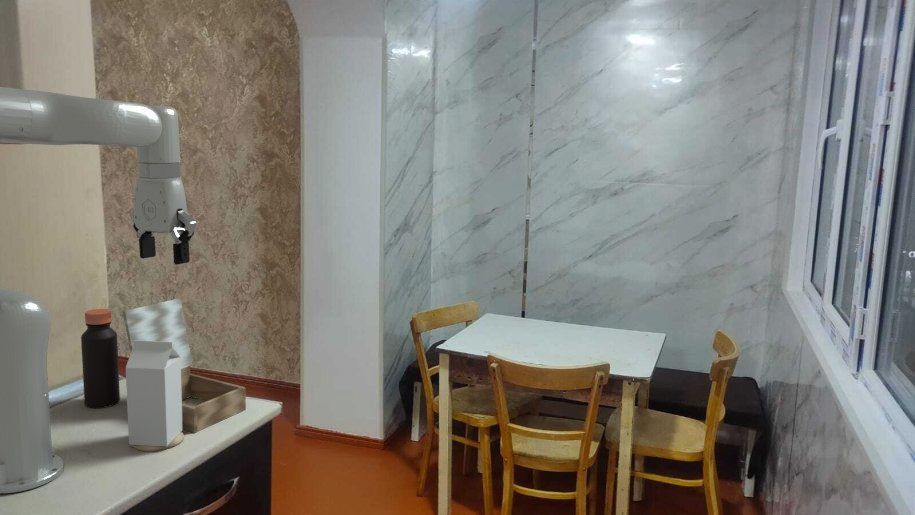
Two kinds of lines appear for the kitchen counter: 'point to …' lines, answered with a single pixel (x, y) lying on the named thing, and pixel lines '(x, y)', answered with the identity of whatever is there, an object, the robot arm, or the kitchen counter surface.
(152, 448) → the coaster
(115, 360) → the bottle
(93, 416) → the kitchen counter surface
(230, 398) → the box
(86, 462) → the kitchen counter surface
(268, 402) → the kitchen counter surface
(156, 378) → the milk carton
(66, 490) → the kitchen counter surface
